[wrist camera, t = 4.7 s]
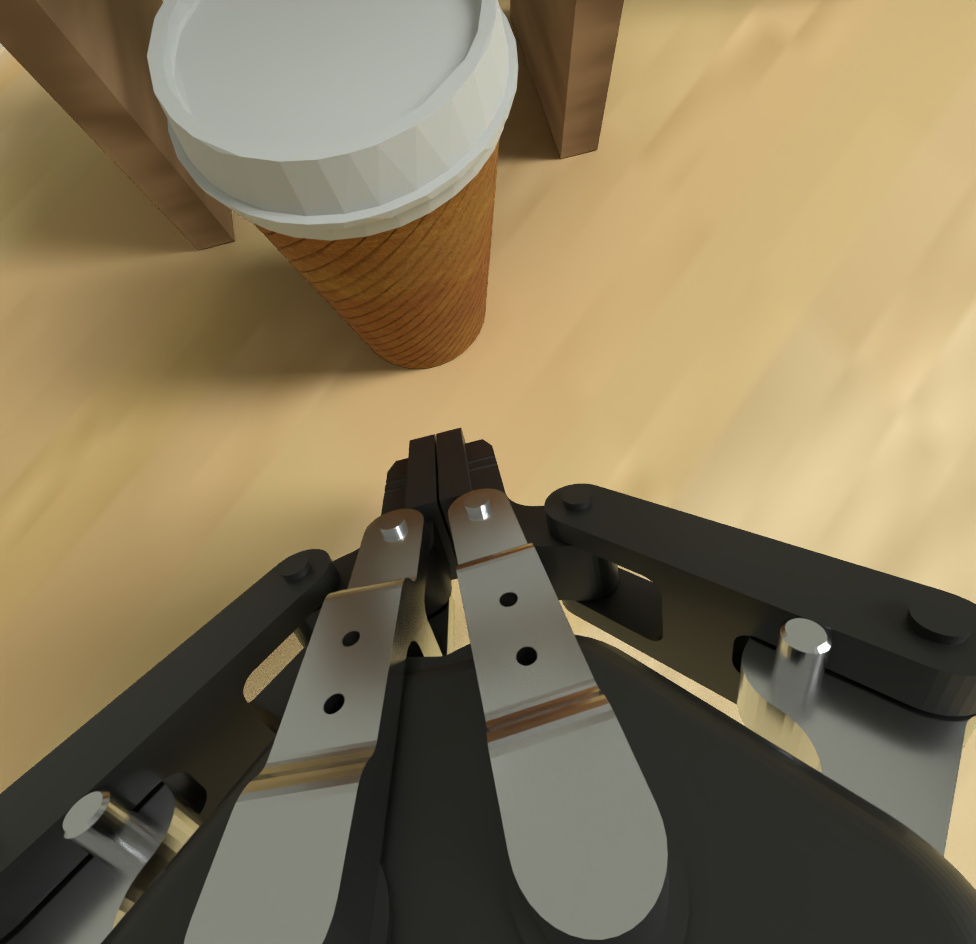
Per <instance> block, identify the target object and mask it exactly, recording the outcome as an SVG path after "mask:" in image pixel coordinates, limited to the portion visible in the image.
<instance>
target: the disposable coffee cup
mask: <svg viewBox="0 0 976 944" xmlns="http://www.w3.org/2000/svg"><path fill="white" fill-rule="evenodd" d="M147 59H148V64H149V70H150V75H151V80H152V85H153V90H154V93H155V95H156V97H157V99H158V101H159V103H160V105H161V107H162V109H163V111H164V113H165V114H166V116H167V118H168V132H169V135H170V138H171V141H172V143H173V146H174V149H175V152H176V155H177V158H178V159H179V161H180V162H181V163H182V165H183V166H184V167H185V169H186V170H187V171H188V173H189V174H190V175H191V177H192V178H193V179H194V180H195V182H196V183H197V184H198V185H199V186H200V187H201V188H202V189H203V190H204V191H205V192H206V193H207V194H209V195H210V196H212V197H213V198H215V199H216V200H218V201H219V202H221V203H222V204H224V205H225V206H227V207H228V208H230V209H231V210H233V211H234V212H236V213H237V214H239V215H240V216H242V217H244V218H245V219H246V220H248V221H250V222H252V223H254V224H255V226H256V227H257V228H258V229H259V230H260V231H261V232H262V233H263V234H264V235H265V236H266V237H267V238H268V239H269V240H270V241H271V242H272V243H273V244H274V245H275V246H276V247H277V249H278V251H279V252H280V253H281V254H283V255H284V256H285V257H286V258H287V259H288V260H289V262H290V263H291V264H292V265H293V266H294V267H295V268H296V269H298V270H299V271H300V274H301V275H302V276H303V277H304V278H306V279H307V280H308V281H309V283H310V284H311V285H312V286H313V287H314V288H315V289H316V290H318V293H319V294H320V295H321V296H323V297H324V298H325V299H326V300H327V301H328V302H329V304H330V305H331V306H332V307H334V309H335V310H336V311H337V312H338V313H339V314H340V315H341V317H342V318H343V319H344V320H345V321H347V322H348V324H349V325H350V326H351V327H352V328H353V329H354V330H355V331H356V332H357V333H358V334H359V335H360V336H361V338H362V339H363V340H364V341H366V343H367V344H368V345H369V346H370V347H371V348H372V350H373V351H374V352H375V353H377V354H378V355H379V356H380V357H381V358H383V359H385V360H387V361H388V362H390V363H392V364H395V365H399V366H402V367H406V368H415V369H418V368H430V367H434V366H438V365H442V364H444V363H446V362H448V361H451V360H453V359H454V358H456V357H457V356H459V355H460V354H462V353H463V352H464V351H465V350H466V349H467V348H468V347H469V346H470V345H471V344H472V343H473V342H474V340H475V339H476V337H477V336H478V334H479V333H480V330H481V328H482V325H483V323H484V317H485V311H486V296H487V285H488V271H489V260H490V248H491V235H492V223H493V210H494V198H495V188H496V175H497V162H498V148H499V138H500V136H501V133H502V131H503V129H504V124H505V122H506V120H507V118H508V115H509V112H510V109H511V106H512V103H513V99H514V96H515V93H516V89H517V76H518V58H517V47H516V40H515V37H514V35H513V32H512V30H511V27H510V25H509V22H508V19H507V17H506V16H505V14H504V13H503V11H502V9H501V8H500V6H499V3H498V0H164V2H163V4H162V6H161V7H160V9H159V11H158V13H157V14H156V16H155V18H154V23H153V28H152V33H151V38H150V43H149V48H148V53H147Z"/></svg>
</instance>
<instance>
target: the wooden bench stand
mask: <svg viewBox="0 0 976 944" xmlns="http://www.w3.org/2000/svg"><path fill="white" fill-rule="evenodd" d="M623 2H624V0H510V16H511V20H512V23H513V26H514V28H515V31H516V34H517V37H518V40H519V42H520V45H521V48H522V51H523V54H524V57H525V59H526V62H527V65H528V68H529V71H530V73H531V76H532V79H533V82H534V85H535V88H536V90H537V93H538V96H539V99H540V102H541V104H542V107H543V110H544V113H545V116H546V119H547V121H548V124H549V127H550V130H551V133H552V135H553V138H554V141H555V144H556V147H557V150H558V152H559V155H560V158H561V159H562V158H565V157H569V156H573V155H577V154H581V153H585V152H589V151H593V150H597V148H598V142H599V137H600V131H601V125H602V120H603V114H604V109H605V103H606V97H607V92H608V86H609V81H610V75H611V69H612V64H613V58H614V53H615V47H616V41H617V36H618V30H619V25H620V19H621V13H622V8H623ZM162 4H163V1H162V0H0V43H1V44H2V45H3V46H4V47H5V48H6V49H7V50H8V51H9V53H10V54H11V55H12V56H13V57H14V58H15V59H16V60H17V61H18V62H19V63H20V64H21V65H22V66H23V67H24V68H25V69H26V70H27V71H28V72H29V73H30V74H31V76H32V77H33V78H34V79H35V80H36V81H37V82H38V83H39V84H40V85H41V86H42V87H43V88H44V89H45V90H46V91H47V92H48V93H49V94H50V95H51V96H52V97H53V99H54V100H55V101H56V102H57V103H58V104H59V105H60V106H61V107H62V108H63V109H64V110H65V111H66V112H67V113H68V114H69V115H70V116H71V117H72V118H73V119H74V121H75V122H76V123H77V124H78V125H79V126H80V127H81V128H82V129H83V130H84V131H85V132H86V133H87V134H88V135H89V136H90V137H91V138H92V139H93V140H94V141H95V142H96V144H97V145H98V146H99V147H100V148H101V149H102V150H103V151H104V152H105V153H106V154H107V155H108V156H109V157H110V158H111V159H112V160H113V161H114V162H115V163H116V164H117V165H118V167H119V168H120V169H121V170H122V171H123V172H124V173H125V174H126V175H127V176H128V177H129V178H130V179H131V180H132V181H133V182H134V183H135V184H136V185H137V186H138V187H139V188H140V190H141V191H142V192H143V193H144V194H145V195H146V196H147V197H148V198H149V199H150V200H151V201H152V202H153V203H154V204H155V205H156V206H157V207H158V208H159V209H160V210H161V212H162V213H163V214H164V215H165V216H166V217H167V218H168V219H169V220H170V221H171V222H172V223H173V224H174V225H175V226H176V227H177V228H178V229H179V230H180V231H181V232H182V233H183V235H184V236H185V237H186V238H187V239H188V240H189V241H190V242H191V243H192V244H193V245H194V246H195V247H196V248H197V249H198V250H201V249H205V248H209V247H213V246H217V245H221V244H225V243H229V242H233V241H234V232H233V223H232V214H231V209H230V208H228V207H227V206H225V205H224V204H222V203H221V202H219V201H218V200H216V199H215V198H213V197H212V196H210V195H209V194H207V193H206V192H205V191H204V190H203V189H202V188H201V187H200V186H199V185H198V184H197V183H196V182H195V180H194V179H193V178H192V177H191V175H190V174H189V173H188V171H187V170H186V169H185V167H184V166H183V165H182V163H181V162H180V161H179V159H178V158H177V155H176V152H175V149H174V146H173V143H172V141H171V138H170V135H169V132H168V118H167V116H166V114H165V113H164V111H163V109H162V107H161V105H160V103H159V101H158V99H157V97H156V95H155V93H154V90H153V85H152V80H151V75H150V70H149V64H148V59H147V53H148V48H149V43H150V38H151V33H152V28H153V23H154V18H155V16H156V14H157V13H158V11H159V9H160V7H161V6H162Z"/></svg>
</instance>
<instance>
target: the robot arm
mask: <svg viewBox="0 0 976 944" xmlns="http://www.w3.org/2000/svg"><path fill="white" fill-rule="evenodd" d="M618 565H619V566H622V567H624V568H626V569H629V570H631V571H633V572H636V573H638V574H640V575H643V576H645V577H646V578H648V579H649V580H651V581H652V582H650V581H648V580H646V579H643V578H641V577H639V576H637V575H634V574H632V573H630V572H627V571H625V570H623V569H620V568H618ZM457 578H458V582H459V587H460V592H461V597H462V602H463V608H464V613H465V618H466V623H467V628H468V633H469V638H470V644H468V645H466V646H464V647H462V648H460V649H458V650H456V651H454V618H455V604H454V600H453V597H452V595H451V591H452V587H451V580H453V579H457ZM559 600H562V602H563V604H564V606H565V607H566V609H567V610H568V611H570V612H571V613H573V614H574V615H576V616H578V617H580V618H581V619H583V620H585V621H587V622H589V623H590V624H592V625H594V626H596V627H598V628H599V629H601V630H603V631H605V632H607V633H609V634H610V635H612V636H614V637H616V638H618V639H619V640H621V641H623V642H625V643H627V644H628V645H630V646H632V647H634V648H636V649H638V650H639V651H641V652H643V653H645V654H647V655H648V656H650V657H652V658H654V659H656V660H657V661H659V662H661V663H663V664H665V665H666V666H668V667H670V668H672V669H674V670H676V671H677V672H679V673H681V674H683V675H685V676H686V677H688V678H690V679H692V680H694V681H695V682H697V683H699V684H701V685H703V686H704V687H706V688H708V689H710V690H712V691H714V692H715V693H717V694H719V695H721V696H723V697H724V698H726V699H728V700H730V701H732V702H733V703H735V704H737V707H738V711H739V714H740V716H741V719H742V721H743V722H744V724H745V726H746V727H745V726H744V725H742V724H741V723H739V722H737V721H736V720H734V719H732V718H731V717H729V716H727V715H726V714H724V713H723V712H721V711H719V710H718V709H716V708H714V707H713V706H711V705H709V704H708V703H706V702H705V701H703V700H701V699H700V698H698V697H696V696H695V695H693V694H691V693H690V692H688V691H687V690H685V689H683V688H682V687H680V686H678V685H677V684H675V683H674V682H672V681H670V680H669V679H667V678H665V677H664V676H662V675H660V674H659V673H657V672H656V671H654V670H652V669H651V668H649V667H647V666H646V665H644V664H642V663H641V662H639V661H638V660H636V659H634V658H633V657H631V656H629V655H628V654H626V653H624V652H623V651H621V650H619V649H617V648H616V647H613V646H611V645H609V644H607V643H604V642H602V641H599V640H596V639H593V638H589V637H584V636H579V635H574V633H573V631H572V629H571V627H570V624H569V622H568V620H567V618H566V616H565V613H564V611H563V609H562V607H561V605H560V602H559ZM293 632H294V633H295V635H296V637H297V638H298V640H299V641H300V643H301V644H302V646H303V647H304V648H303V649H302V650H301V651H300V652H299V654H298V655H297V656H296V657H295V658H294V659H293V660H292V661H291V662H290V663H289V664H288V665H287V666H286V667H285V668H284V669H283V670H282V671H281V672H280V673H279V674H278V675H277V676H276V677H275V678H274V679H273V680H272V681H271V682H270V683H269V684H268V685H267V686H266V687H265V688H264V689H263V690H262V692H261V693H260V694H259V695H258V696H257V697H256V698H255V699H253V700H252V701H251V702H249V703H248V702H247V701H246V700H245V698H244V695H243V689H244V685H245V682H246V680H247V678H248V677H249V675H250V674H251V673H252V672H253V671H254V670H255V669H256V668H257V667H258V666H259V665H260V664H261V663H262V662H263V661H264V660H265V659H266V658H267V657H268V656H269V655H270V654H271V653H272V652H273V651H274V650H275V649H276V648H277V647H278V646H279V645H280V644H281V643H282V642H283V641H284V640H285V639H286V638H287V637H288V636H289V635H291V634H292V633H293ZM975 728H976V604H974V603H972V602H970V601H969V600H966V599H964V598H962V597H959V596H957V595H954V594H951V593H948V592H945V591H942V590H939V589H936V588H932V587H929V586H926V585H922V584H919V583H916V582H913V581H909V580H906V579H903V578H899V577H896V576H893V575H889V574H886V573H883V572H880V571H876V570H873V569H870V568H866V567H863V566H860V565H856V564H853V563H850V562H847V561H843V560H840V559H837V558H833V557H830V556H827V555H824V554H820V553H817V552H814V551H810V550H807V549H804V548H800V547H797V546H794V545H791V544H787V543H784V542H781V541H777V540H774V539H771V538H767V537H764V536H761V535H758V534H754V533H751V532H748V531H744V530H741V529H738V528H734V527H731V526H728V525H725V524H721V523H718V522H715V521H711V520H708V519H705V518H702V517H698V516H695V515H692V514H688V513H685V512H682V511H678V510H675V509H672V508H669V507H665V506H662V505H659V504H655V503H652V502H649V501H645V500H642V499H639V498H636V497H632V496H629V495H626V494H622V493H619V492H616V491H613V490H609V489H606V488H603V487H599V486H596V485H592V484H573V485H568V486H564V487H562V488H559V489H558V490H556V491H554V492H553V493H551V494H550V495H549V496H548V498H547V499H546V501H545V506H524V505H520V504H517V503H515V502H513V501H511V500H510V499H509V498H508V497H507V495H506V493H505V490H504V486H503V483H502V479H501V476H500V472H499V469H498V465H497V462H496V458H495V454H494V451H493V447H492V445H490V444H489V443H487V442H486V441H484V440H483V439H482V440H478V441H474V442H470V443H465V439H464V436H463V432H462V429H461V428H457V429H453V430H449V431H445V432H441V433H438V434H436V436H435V434H434V435H430V436H426V437H422V438H418V439H414V440H410V444H409V458H406V459H402V460H399V461H396V462H395V463H394V464H393V466H392V467H391V468H390V470H389V471H388V473H387V480H386V486H385V493H384V500H383V506H382V513H381V516H380V517H378V518H377V519H375V520H374V521H373V522H372V523H371V524H370V525H369V526H368V527H367V529H366V530H365V533H364V536H363V539H362V542H361V546H360V548H359V549H357V550H356V551H354V552H352V553H350V554H347V555H345V556H343V557H341V558H339V559H337V560H335V561H332V560H331V558H330V556H329V555H328V553H327V552H326V551H323V550H320V549H310V550H305V551H302V552H299V553H296V554H294V555H292V556H290V557H288V558H286V559H285V560H283V561H282V562H281V563H279V564H278V565H277V566H276V567H274V568H273V569H272V570H271V571H269V572H268V573H267V574H266V575H265V576H263V577H262V578H261V579H260V580H259V581H257V582H256V583H255V584H254V585H253V586H251V587H250V588H249V589H248V590H247V591H245V592H244V593H243V594H242V595H240V596H239V597H238V598H237V599H236V600H234V601H233V602H232V603H231V604H230V605H228V606H227V607H226V608H225V609H224V610H222V611H221V612H220V613H219V614H217V615H216V616H215V617H214V618H213V619H211V620H210V621H209V622H208V623H207V624H205V625H204V626H203V627H202V628H201V629H199V630H198V631H197V632H196V633H194V634H193V635H192V636H191V637H190V638H188V639H187V640H186V641H185V642H184V643H182V644H181V645H180V646H179V647H178V648H176V649H175V650H174V651H173V652H171V653H170V654H169V655H168V656H167V657H165V658H164V659H163V660H162V661H161V662H159V663H158V664H157V665H156V666H155V667H153V668H152V669H151V670H150V671H149V672H147V673H146V674H145V675H144V676H142V677H141V678H140V679H139V680H138V681H136V682H135V683H134V684H133V685H132V686H130V687H129V688H128V689H127V690H126V691H124V692H123V693H122V694H121V695H119V696H118V697H117V698H116V699H115V700H113V701H112V702H111V703H110V704H109V705H107V706H106V707H105V708H104V709H103V710H101V711H100V712H99V713H98V714H96V715H95V716H94V717H93V718H92V719H90V720H89V721H88V722H87V723H86V724H84V725H83V726H82V727H81V728H80V729H78V730H77V731H76V732H75V733H74V734H72V735H71V736H70V737H69V738H67V739H66V740H65V741H64V742H63V743H61V744H60V745H59V746H58V747H57V748H55V749H54V750H53V751H52V752H51V753H49V754H48V755H47V756H46V757H44V758H43V759H42V760H41V761H40V762H38V763H37V764H36V765H35V766H34V767H32V768H31V769H30V770H29V771H28V772H26V773H25V774H24V775H23V776H21V777H20V778H19V779H18V780H17V781H15V782H14V783H13V784H12V785H11V786H9V787H8V788H7V789H6V790H5V791H3V792H2V793H1V794H0V944H976V890H975V889H974V888H973V886H972V885H971V884H970V883H969V882H968V881H967V880H966V879H965V878H964V876H963V875H962V874H961V873H960V872H959V871H958V870H957V869H956V868H955V867H954V866H953V865H952V864H951V863H949V862H948V861H947V860H946V859H945V858H944V851H945V845H946V840H947V834H948V828H949V822H950V816H951V811H952V805H953V799H954V793H955V787H956V781H957V776H958V770H959V764H960V758H961V752H962V749H963V747H964V746H965V744H966V743H967V741H968V739H969V738H970V736H971V734H972V733H973V731H974V729H975Z"/></svg>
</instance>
